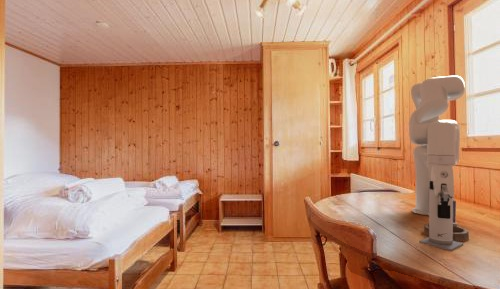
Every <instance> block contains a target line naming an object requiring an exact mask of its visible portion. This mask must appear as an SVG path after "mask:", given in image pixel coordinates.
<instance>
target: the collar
mask: <svg viewBox="0 0 500 289" xmlns="http://www.w3.org/2000/svg"><path fill="white" fill-rule="evenodd" d="M458 224H459V223H457V222H455V223H453V238H452V239H453V241H456V242H466V241H468V240H470V238H469V234H470V233H469V230H468V229H467V228H464V227H463V226H462V227H461V226H459V225H458ZM423 228H424V230H423V232H424V234H425V235H427V236H428V237H429V222H428V223H426V224H424V226H423ZM467 239H468V240H467Z"/></svg>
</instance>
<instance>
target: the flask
mask: <svg viewBox="0 0 500 289" xmlns="http://www.w3.org/2000/svg"><path fill="white" fill-rule="evenodd" d="M456 210H457V201H456V200H455V199H453V223H456V218H457V217H456V214H457V213H456V212H457V211H456Z"/></svg>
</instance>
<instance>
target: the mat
mask: <svg viewBox="0 0 500 289" xmlns="http://www.w3.org/2000/svg"><path fill="white" fill-rule="evenodd" d="M418 243H419V244H422V245H427V246H429V247H433V248H437V249H441V250H444V251H449V252H453V251H454V250H457V249H460V247H463V246H464V242H461V241H453V243H452V244H451V245H442V244H437V243H433V242H431V241H430V240H429V236H428V237H426V238H423V239H421V240H419V241H418Z"/></svg>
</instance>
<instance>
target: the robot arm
mask: <svg viewBox="0 0 500 289" xmlns="http://www.w3.org/2000/svg"><path fill="white" fill-rule="evenodd" d="M465 90H466V84H465V81H464V79H463V78H462V77H461V76H459V75H448V76H437V77H435V76H434V77H429V78H426V79H424V80H423V81H422V82H419V83H415V84H413V85H412V86H411V90H410V95H411V99H412V102H413V103H414V104H413V105H414V106H415V110H414V111H413V112H412V114H411V115H410V117H409V122H408V136H409V140H410V142H411V143H412V144H414V145H416V146H415V147H414V149H413V154H412V155H413V160H414V161H413V162H414V167H415V168H414V169H415V207H412V208H411V212H412V213H414V214H417V215H423V216H429V191H430V190H429V188H430V181H433V189H434V195H435V196H436V197H438V202H439V205H438V204H437V216H438V218H444V219H450V200H449V196H450V198H453V199H454V198H455V181H454V180H455V179H454V169H453V167H455V166H456V165H457V164H458V163H459V160H460V142H461V141H460V140H461V139H460V136H461V133H460V126H459V123H458V122H457V121H456V120H453V119H441V120H440V116H441V115H443V114H445V113H446V112H447V110H448V108H449V101H456V100H458V99H460V98H462V97H463V95H464V93H465ZM441 188H442V190H441Z"/></svg>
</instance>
